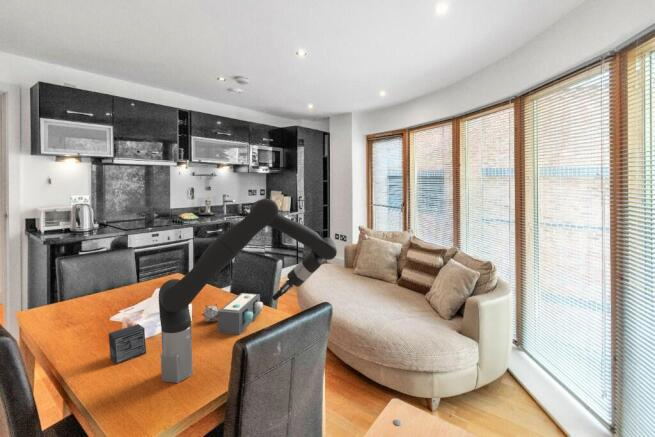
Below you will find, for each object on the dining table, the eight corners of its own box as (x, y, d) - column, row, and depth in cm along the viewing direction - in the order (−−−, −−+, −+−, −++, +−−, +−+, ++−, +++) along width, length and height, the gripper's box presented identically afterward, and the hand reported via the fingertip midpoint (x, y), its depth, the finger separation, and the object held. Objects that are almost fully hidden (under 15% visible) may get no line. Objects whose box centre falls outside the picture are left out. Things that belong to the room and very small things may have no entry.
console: (239, 334, 139) (239, 311, 138) (218, 332, 141) (217, 309, 140) (260, 313, 163) (259, 292, 162) (241, 311, 164) (241, 291, 163)
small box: (140, 347, 128) (138, 322, 126) (146, 353, 123) (145, 327, 122) (109, 358, 119) (107, 332, 118) (115, 365, 115) (113, 337, 114)
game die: (213, 330, 151) (212, 319, 145) (198, 322, 152) (196, 311, 146) (224, 315, 158) (224, 304, 151) (210, 308, 159) (209, 297, 152)
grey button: (259, 312, 154) (259, 304, 153) (253, 312, 154) (253, 303, 154) (262, 309, 158) (262, 300, 158) (257, 308, 159) (257, 300, 158)
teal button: (249, 323, 142) (249, 314, 141) (243, 322, 142) (242, 313, 142) (253, 319, 146) (253, 310, 146) (247, 318, 147) (247, 309, 146)
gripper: (298, 263, 144) (273, 287, 148) (290, 271, 131) (262, 297, 135) (309, 275, 144) (284, 299, 147) (302, 284, 131) (274, 310, 134)
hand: (273, 298), depth 141 cm, fingers closed
